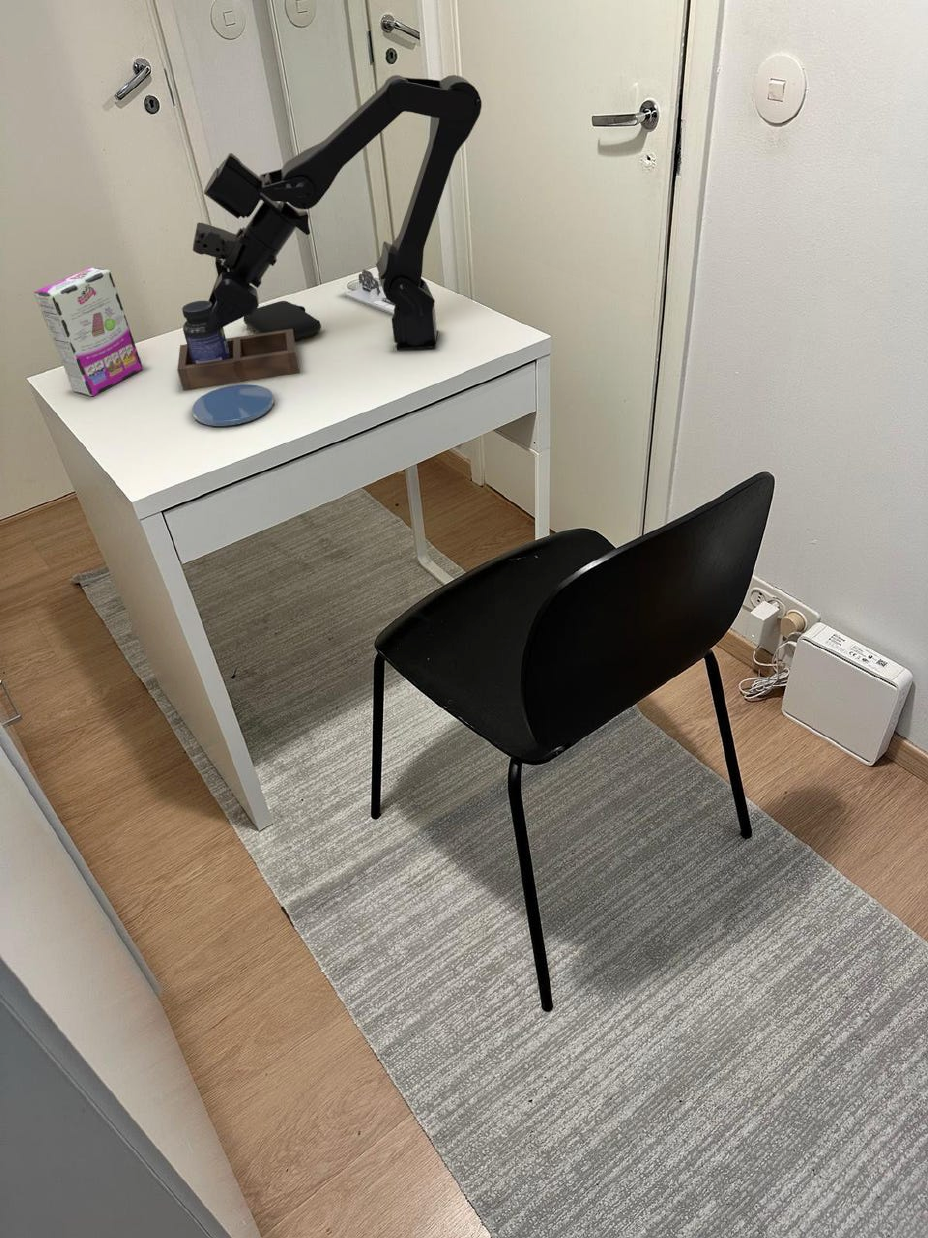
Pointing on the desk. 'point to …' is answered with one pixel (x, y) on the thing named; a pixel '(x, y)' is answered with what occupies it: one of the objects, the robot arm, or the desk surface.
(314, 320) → the carrying case
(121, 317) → the candy bar box
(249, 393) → the plate
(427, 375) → the desk surface
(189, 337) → the pill bottle
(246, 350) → the rack
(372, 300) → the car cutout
